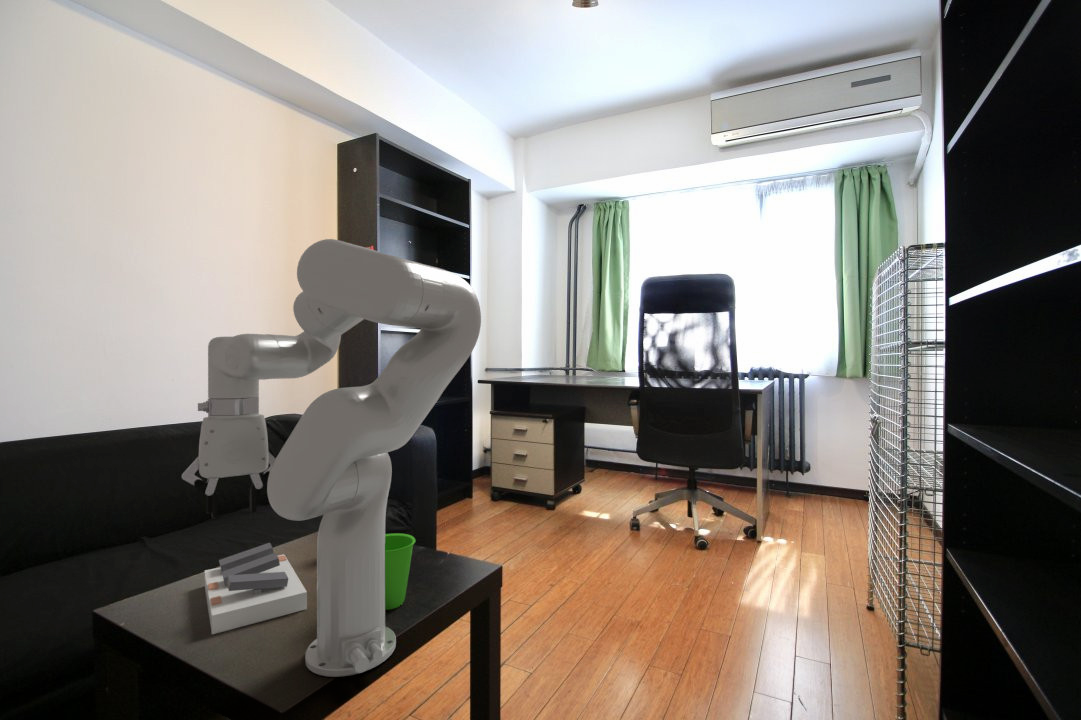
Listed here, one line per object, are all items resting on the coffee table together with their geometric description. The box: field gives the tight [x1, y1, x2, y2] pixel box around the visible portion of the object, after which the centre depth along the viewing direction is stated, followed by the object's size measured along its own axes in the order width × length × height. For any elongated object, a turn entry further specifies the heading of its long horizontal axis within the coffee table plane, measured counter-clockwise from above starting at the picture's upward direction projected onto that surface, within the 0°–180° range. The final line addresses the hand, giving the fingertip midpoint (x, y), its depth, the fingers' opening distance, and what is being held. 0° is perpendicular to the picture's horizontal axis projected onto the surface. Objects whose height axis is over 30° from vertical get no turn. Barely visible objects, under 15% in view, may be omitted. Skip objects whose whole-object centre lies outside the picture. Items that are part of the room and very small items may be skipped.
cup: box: [385, 532, 416, 611], centre depth 91 cm, size 9×9×11 cm
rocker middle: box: [222, 552, 280, 586], centre depth 95 cm, size 4×9×1 cm, turn 126°
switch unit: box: [204, 553, 308, 635], centre depth 94 cm, size 22×14×4 cm, turn 36°
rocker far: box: [218, 542, 275, 572], centre depth 100 cm, size 4×9×1 cm, turn 126°
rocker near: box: [227, 572, 288, 591], centre depth 89 cm, size 4×9×1 cm, turn 126°
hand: (234, 512), depth 87 cm, fingers open, 5 cm apart
